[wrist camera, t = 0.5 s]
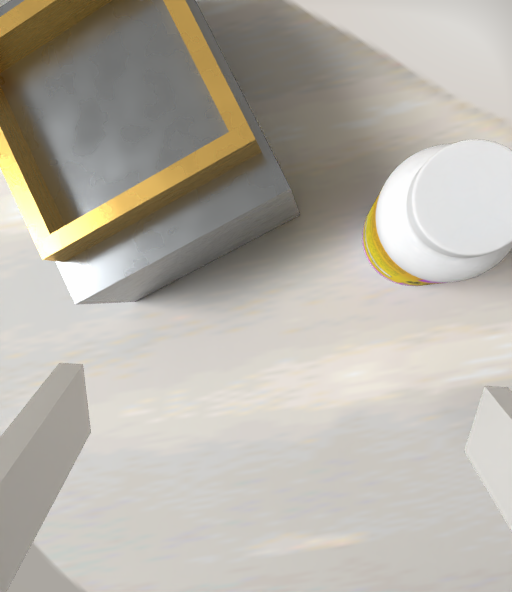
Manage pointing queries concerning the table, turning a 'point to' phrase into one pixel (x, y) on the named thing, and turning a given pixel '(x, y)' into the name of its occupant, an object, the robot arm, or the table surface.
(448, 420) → the table surface
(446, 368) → the table surface
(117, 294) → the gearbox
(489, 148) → the supplement bottle
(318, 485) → the table surface
